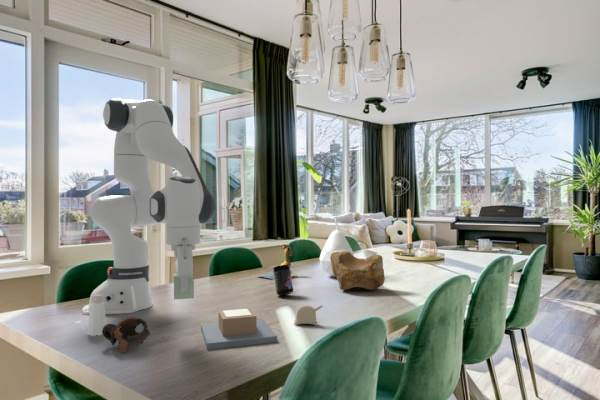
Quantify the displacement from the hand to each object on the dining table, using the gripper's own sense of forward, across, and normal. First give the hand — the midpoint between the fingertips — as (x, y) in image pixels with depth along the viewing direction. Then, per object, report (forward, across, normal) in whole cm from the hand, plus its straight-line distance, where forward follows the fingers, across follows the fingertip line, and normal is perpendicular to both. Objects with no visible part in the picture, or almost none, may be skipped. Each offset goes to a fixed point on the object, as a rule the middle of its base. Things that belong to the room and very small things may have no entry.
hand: (183, 288), depth 116 cm
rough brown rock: (+14, +43, -69) cm, 82 cm away
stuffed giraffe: (+15, +81, -49) cm, 96 cm away
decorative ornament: (+14, +3, -32) cm, 35 cm away
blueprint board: (+14, -1, -14) cm, 20 cm away
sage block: (+2, 0, 0) cm, 2 cm away
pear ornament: (+14, +74, -76) cm, 107 cm away
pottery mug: (+15, -1, +15) cm, 21 cm away
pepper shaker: (+14, +13, +23) cm, 30 cm away
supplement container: (+14, +42, -39) cm, 59 cm away
